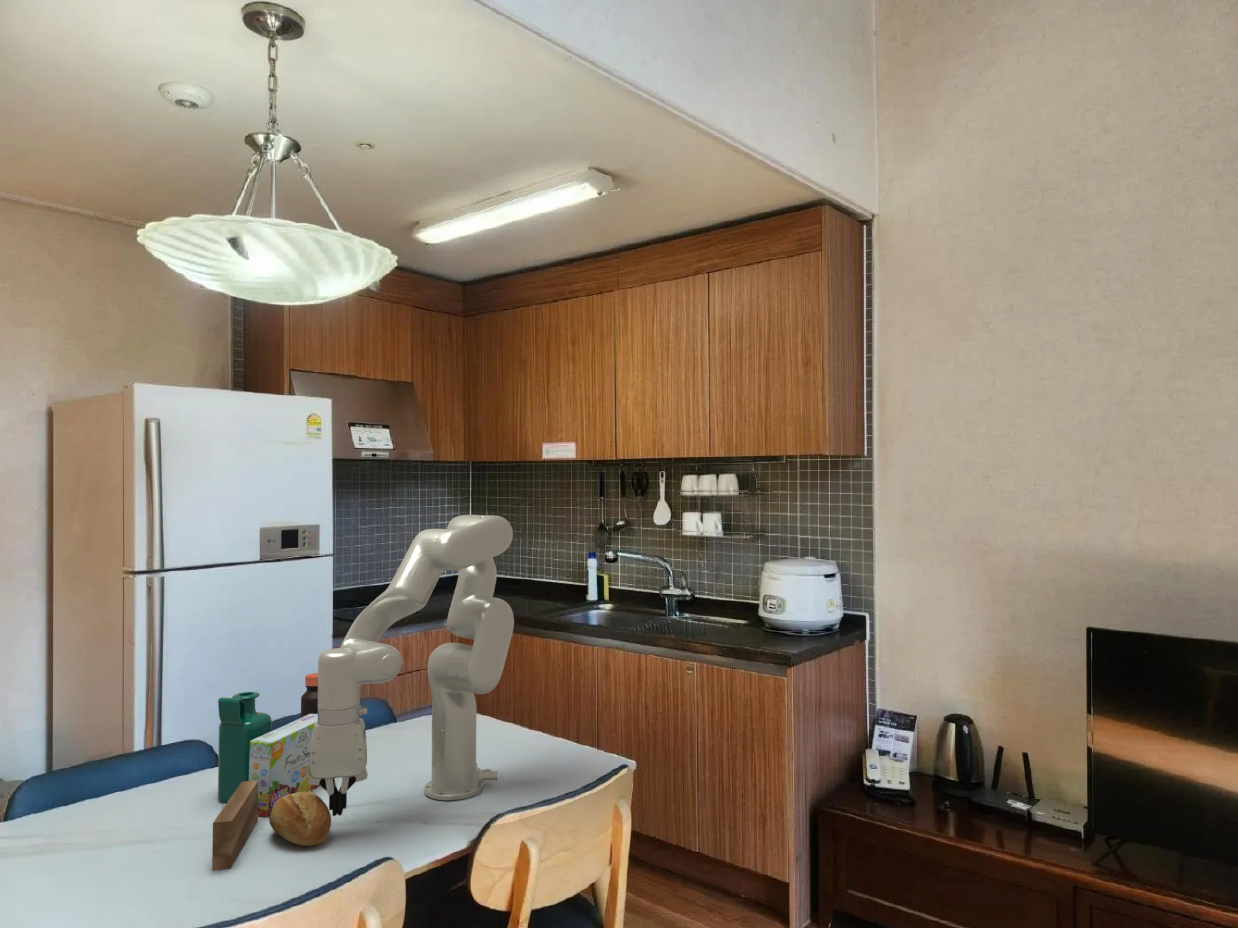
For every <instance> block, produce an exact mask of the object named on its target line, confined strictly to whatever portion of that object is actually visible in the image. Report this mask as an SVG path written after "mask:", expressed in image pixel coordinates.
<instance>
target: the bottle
mask: <svg viewBox="0 0 1238 928" xmlns="http://www.w3.org/2000/svg"><path fill="white" fill-rule="evenodd" d="M304 682H305V683H304V685H305V688H306V690H305V692H304V693H303V694H302V695H301V698H300V718H302V717H304V716H306V715H309V714H318V672H313V673H309V674H307V675H305V680H304Z"/></svg>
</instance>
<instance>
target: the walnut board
mask: <svg viewBox="0 0 1238 928" xmlns="http://www.w3.org/2000/svg"><path fill="white" fill-rule="evenodd" d="M258 817H259V816H258V780H257V781H244V782H241V784H240V785H239V786H238V788H237V789H236V791H235V792H234V794H233V795H232V796H231V798H230V799H229V801H228V802H227V803H226V804H225V805H224V806H223V808H222V809H221V810H220V812H219V813H218V815H217V816H216V818H215V819H214V821H213V822H212V852H211V854H212V855H211V856H212V859H211V862H212V863H211V871H217V870H226V869H229V870H230V869H232V868H233V865H234V864H235V862H236V860H237V858H238V857H239V855H240V853H241V852H242V850H243V848H244V846H245V845H246V843H247V841H248V839H249V838H250V836H251V834H252V832H253V831H254V829H255V827H256V825H257V824H258V822H257V821H258V819H259V818H258ZM256 823H257V824H256ZM254 826H255V827H254ZM253 828H254V829H253Z"/></svg>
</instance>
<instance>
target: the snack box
mask: <svg viewBox="0 0 1238 928" xmlns="http://www.w3.org/2000/svg"><path fill="white" fill-rule="evenodd" d="M317 721H318V714H309V715H306V716H304V717H302V718H301V717H300V718H297V719H295V720H293V721H291V722H288V723H286V724H285V725H282V726H281V727H278V728H276V729H273V730H271V732H269V733H267V734H264V735H262V736H260V737H258V738H256V739H253V740H251V741H250V761H249V781H257V780H258V817H261V816H262V818H270V814H271V811H272V808H273V806H274V804H275V802H276V801H277V800H278V799H279V798H280V797H283V796H285V795H287V794H292V793H293V794H294V793H297V792H309V791H311V790H312V791H314V790H315V789H314V788H316V789H317V788H319V787H321V786H320V785H313V784H309V783H308V778H309V775H310V774H309V759H310V746H311V738H312V732H313V727H314V723H315V722H317ZM318 786H319V787H318ZM313 789H314V790H313ZM312 791H311V792H312Z"/></svg>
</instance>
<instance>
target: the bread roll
mask: <svg viewBox="0 0 1238 928" xmlns="http://www.w3.org/2000/svg"><path fill="white" fill-rule="evenodd" d="M268 822H269V825H270V827H271V828H272V830H273V831H274V832H275V833H276V834H277V835H279V836H280V837H282V838H283V839H285V840H286V841H288V842H290V843H292V844H295V845H299V846H304V847H305V846H306V847H311V846H317V845H320V844H322V843H323V842H324V841H326V839H327V837H328V835H329V833H330V830H331V828H332V827H331V826H332V814H331V812H330V810H329V806H327V804H326V803H325V801H323V799H322V798H321V797H320V796H319V795H318V794H315V793H314V792H312V791H311V792H297V793H294V794H293V793H292V794H287V795H285V796H283V797H280V798H279V799H278V800H277V801H276V802H275V804H274V806H273V808H272V811H271V814H270V817H268Z"/></svg>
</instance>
